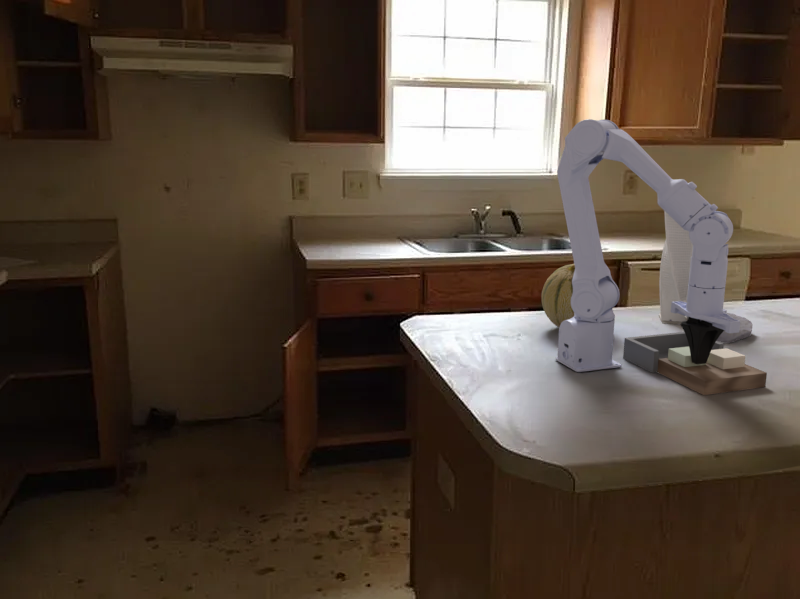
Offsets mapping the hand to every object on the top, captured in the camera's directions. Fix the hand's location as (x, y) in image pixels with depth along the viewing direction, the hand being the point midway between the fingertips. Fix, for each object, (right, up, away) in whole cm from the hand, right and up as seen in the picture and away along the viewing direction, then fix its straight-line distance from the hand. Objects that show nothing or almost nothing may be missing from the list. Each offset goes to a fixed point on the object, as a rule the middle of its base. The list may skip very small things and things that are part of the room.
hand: (699, 362), depth 124 cm
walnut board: (+3, -3, +2) cm, 4 cm away
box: (0, -1, +11) cm, 11 cm away
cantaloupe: (-13, +4, +33) cm, 36 cm away
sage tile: (-1, 0, +3) cm, 3 cm away
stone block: (+17, +3, +29) cm, 33 cm away
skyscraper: (+11, +6, +41) cm, 43 cm away
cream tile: (+5, 0, +2) cm, 6 cm away
